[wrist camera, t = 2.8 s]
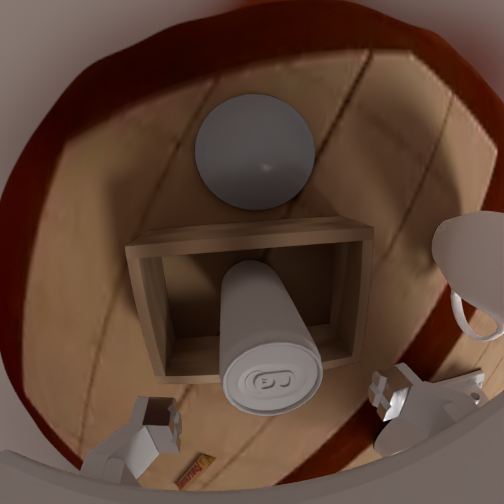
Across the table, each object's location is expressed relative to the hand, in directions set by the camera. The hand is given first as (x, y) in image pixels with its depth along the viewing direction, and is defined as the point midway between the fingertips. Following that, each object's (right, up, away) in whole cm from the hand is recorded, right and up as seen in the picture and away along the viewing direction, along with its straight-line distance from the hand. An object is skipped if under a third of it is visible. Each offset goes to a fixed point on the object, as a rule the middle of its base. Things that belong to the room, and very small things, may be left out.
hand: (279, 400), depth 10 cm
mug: (+20, +5, +15) cm, 25 cm away
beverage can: (-1, +3, +13) cm, 14 cm away
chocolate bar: (-9, -26, +21) cm, 34 cm away
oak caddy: (-1, +3, +13) cm, 13 cm away
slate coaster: (-1, +13, +10) cm, 17 cm away
